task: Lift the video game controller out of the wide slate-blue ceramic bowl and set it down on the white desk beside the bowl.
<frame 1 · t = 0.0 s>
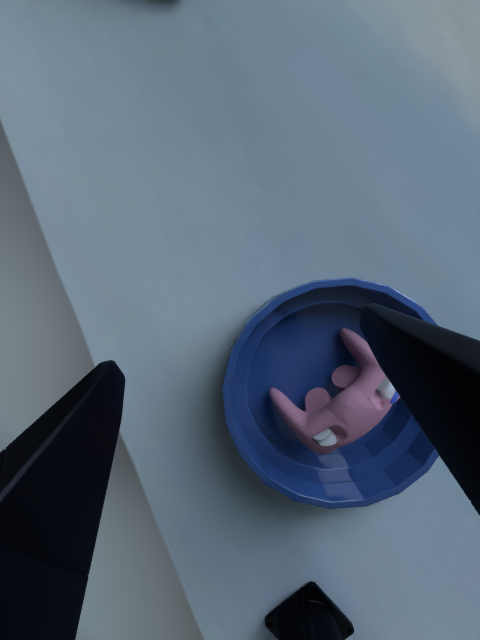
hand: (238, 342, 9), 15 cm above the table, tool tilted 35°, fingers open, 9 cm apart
video game controller: (322, 379, 24), resting on bowl
bowl: (322, 379, 24), on the table
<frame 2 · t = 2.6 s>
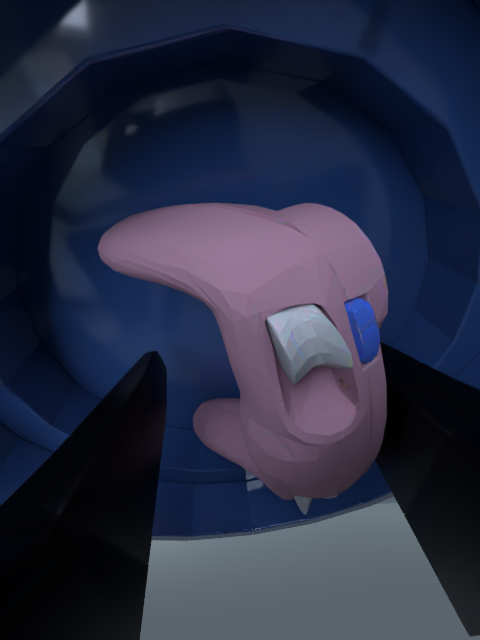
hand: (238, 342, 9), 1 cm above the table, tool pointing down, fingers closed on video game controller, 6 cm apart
video game controller: (235, 321, 10), resting on bowl, touching gripper
bowl: (235, 320, 10), on the table
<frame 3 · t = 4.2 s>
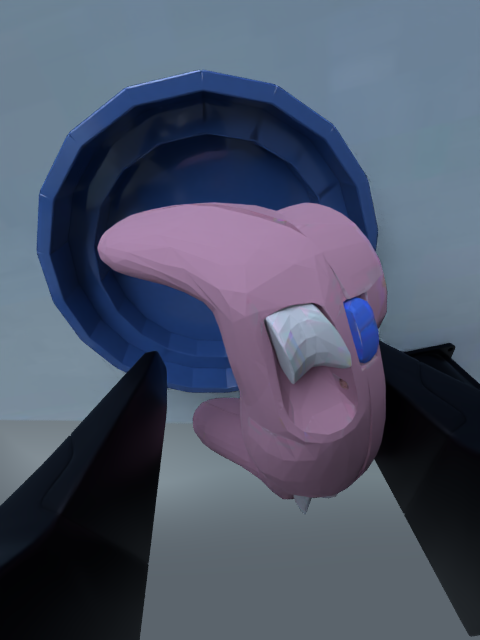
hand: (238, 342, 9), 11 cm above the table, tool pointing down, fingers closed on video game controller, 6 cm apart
video game controller: (235, 321, 10), point 9 cm above the table, touching gripper
bowl: (217, 260, 18), on the table
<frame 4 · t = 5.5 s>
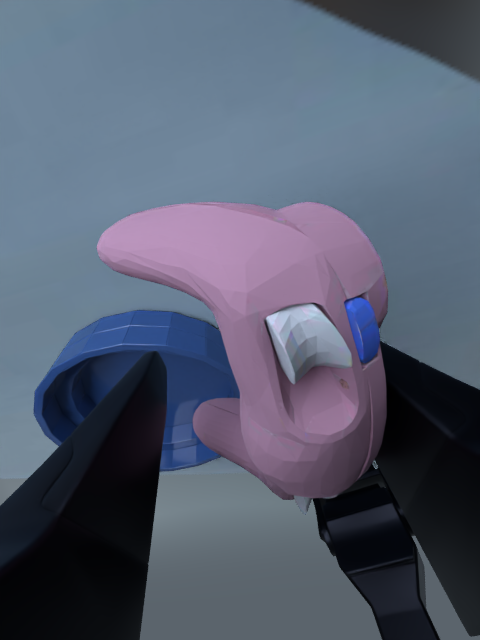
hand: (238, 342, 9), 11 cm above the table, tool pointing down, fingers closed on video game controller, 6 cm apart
video game controller: (235, 321, 10), point 10 cm above the table, touching gripper
bowl: (160, 383, 26), on the table
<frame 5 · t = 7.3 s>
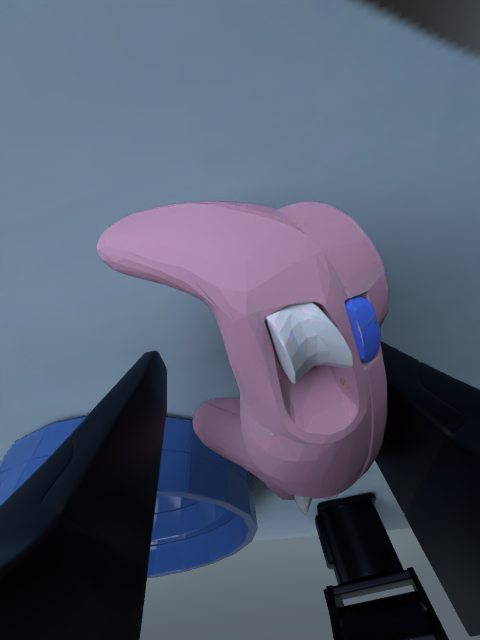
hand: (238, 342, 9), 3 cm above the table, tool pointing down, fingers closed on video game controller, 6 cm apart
video game controller: (235, 321, 10), point 2 cm above the table, touching gripper
bowl: (137, 476, 21), on the table
when the fingers open (1 cm above the table, at t = 8.5 s): video game controller stays where it is, on the table.
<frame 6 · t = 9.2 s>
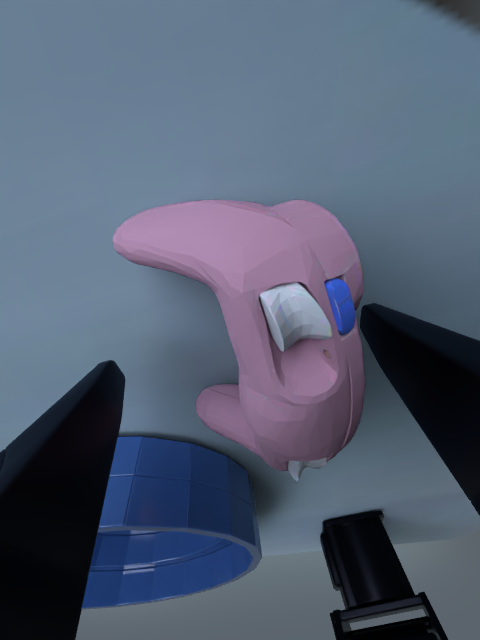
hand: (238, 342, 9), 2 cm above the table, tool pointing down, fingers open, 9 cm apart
video game controller: (235, 311, 11), on the table
bowl: (135, 497, 20), on the table
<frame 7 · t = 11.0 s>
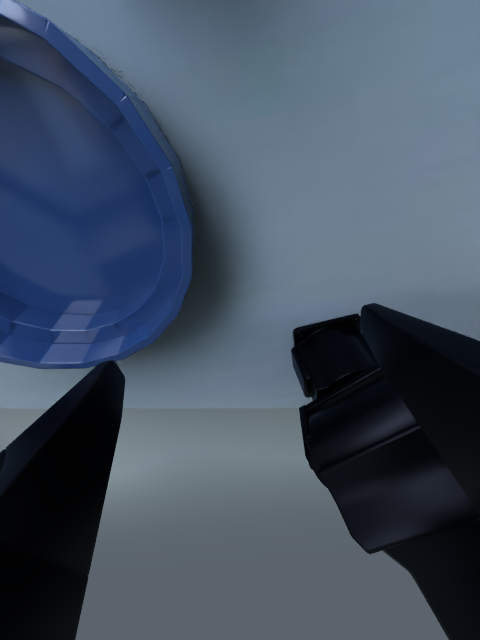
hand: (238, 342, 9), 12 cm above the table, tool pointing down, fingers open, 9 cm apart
bowl: (52, 219, 16), on the table
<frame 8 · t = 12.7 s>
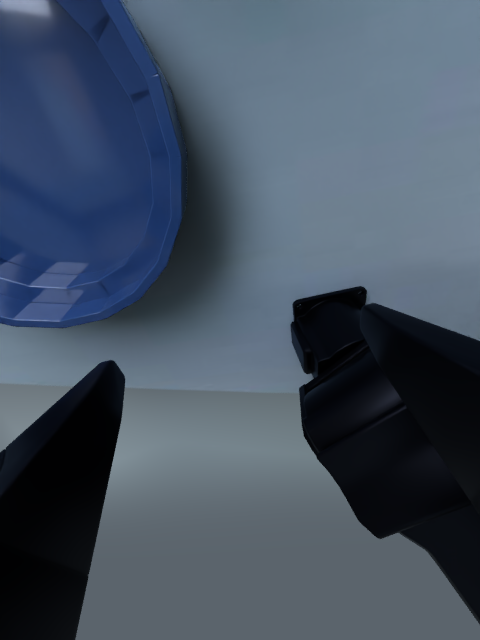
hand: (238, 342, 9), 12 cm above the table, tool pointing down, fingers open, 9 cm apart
bowl: (30, 159, 15), on the table
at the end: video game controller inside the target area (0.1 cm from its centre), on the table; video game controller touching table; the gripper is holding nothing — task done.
